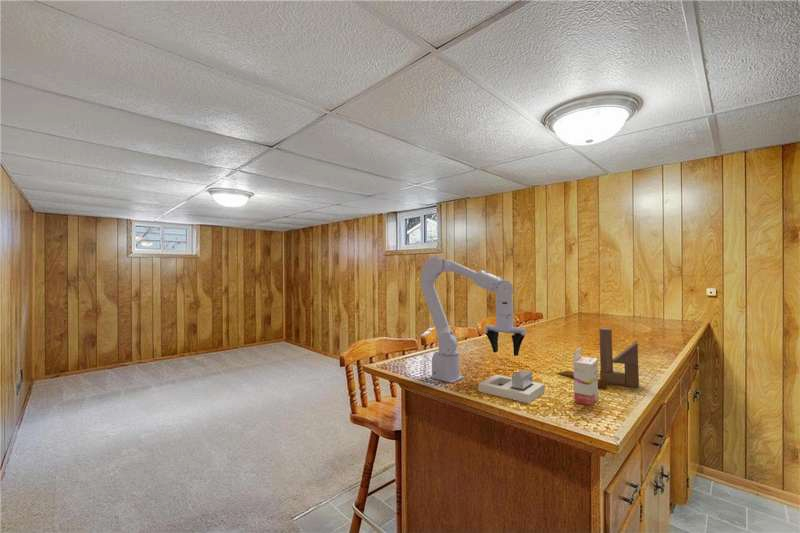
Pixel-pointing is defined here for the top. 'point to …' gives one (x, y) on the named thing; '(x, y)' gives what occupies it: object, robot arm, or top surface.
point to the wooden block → (618, 361)
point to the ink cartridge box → (585, 379)
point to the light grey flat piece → (510, 389)
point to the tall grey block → (522, 380)
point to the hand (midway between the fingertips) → (505, 353)
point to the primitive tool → (601, 382)
